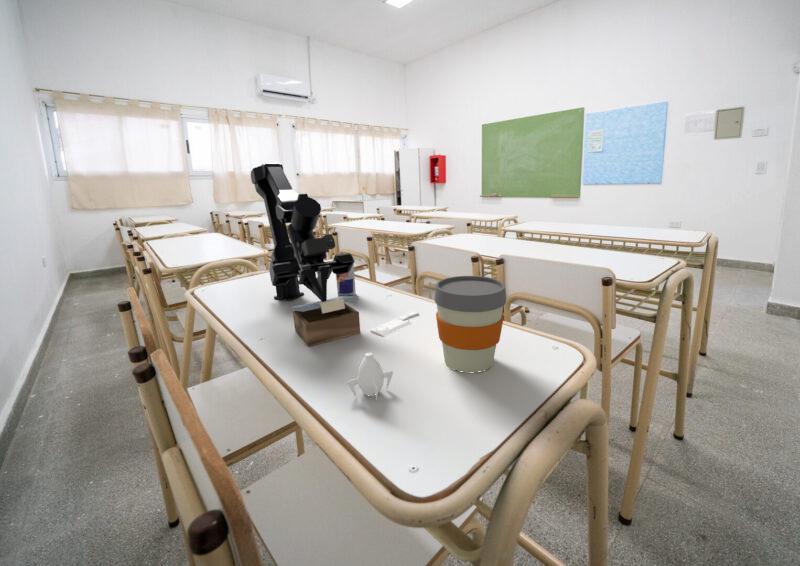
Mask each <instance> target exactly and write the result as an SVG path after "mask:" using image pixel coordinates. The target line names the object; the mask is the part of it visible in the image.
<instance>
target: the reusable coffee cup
mask: <svg viewBox="0 0 800 566" xmlns="http://www.w3.org/2000/svg"><path fill="white" fill-rule="evenodd" d="M434 290H435V292H434V302H435V304H436V309H437V312H436V313H435V319H436V326H437V332H438V333H437V334H438V339H439V340H440V342H441V344H442V352H443V357H444V364H445V365H446V367H448V366H449V367H450V368H449V367H448V368H449V369H451V368H452V369H451V370H453V369H455V370H458V371H463V372H478V371H484V370H486V369H489V368H490V367H491V366H492V367H493V365H494V359H495V354H496V348H497V344H499V342H500V340H501V335H502V329H503V323H504V319H505V316H504V314H503V310H504V306H505V304H506V303H507V296H506V295H507V294H506V285H505V283H504V282H502V281H501V280H499V279H496V278H492V277H488V276H481V275H459V276H458V275H457V276H451V277H446V278H443V279H440V280H439V281H437V282H436V284H435V289H434ZM492 367H491V368H492ZM491 368H490V369H491ZM490 369H489V370H490ZM455 370H454V371H455ZM458 371H457V372H458ZM484 372H485V371H484Z"/></svg>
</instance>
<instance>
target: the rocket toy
mask: <svg viewBox="0 0 800 566" xmlns="http://www.w3.org/2000/svg"><path fill="white" fill-rule="evenodd" d="M364 356H365V357H364V358H363V359H362V360H361V363H360V365H359V367H358V371H357V377H356V378H353V379H350V380H348V381H347V385H348V387H349V388H350V391H351V392H352V393H353V395H354V396H355V397H357V394H356V390H355V385H358V387H359V389H360V392H362V393H363V394H364V395H366V396H367V395H369V396H373V395H375V394H376V396H375V401H376V402H377V400H378V396H379V395H378V394H379V393H380V392H381V391H382V389H383V386H384V379H386V378H387V380H386V381H387V382H386V387H385V388H386V389H387V390H388V388H389V386H390V383H391V381H392V377H393V374H394V373H393V372H394V371H392V370H389V371H388V370H387V371H383V368H382V367H381V365H380V363H379V361H378V360H377V358H376V357H375V356H374V353H372V352H370V350H369V349H368V352H366V353H365V354H364ZM369 396H368V397H369ZM373 397H374V396H373Z"/></svg>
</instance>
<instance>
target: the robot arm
mask: <svg viewBox="0 0 800 566" xmlns="http://www.w3.org/2000/svg"><path fill="white" fill-rule="evenodd" d="M250 180H251V184H253V185H254V189H255V191H256V193H257V194H258V195H259V196H260V197H261V198H262V199H263V202H264V206H265V211H266V216H267V220H268V224H269V229H270V232H271V237H272V241H273V245H274V247H273V249H272V253H271V254H270V261H269V270H268V271H269V276H270V277H269V278H270V282H271V285H272V286H274V287H275V290H276V295H275V296H273V299H276V300H283V301H292V300H295V299H297V298H300V297H302V296H303V295H305V292H301V291H300V285H303V286H304V287H306V288H307V289H308V290H309V291H311V292H312V293H313V295H314V296H316V297H317V298H318V299H319V301H322V302H324V301H326V300H327V298H328V297H327V296H328V293H327V292H328V289H327V288H328V280H329V278H330V277H331V274H332V273H333V274H334V275H335V276H336V275H340V274H345V273H348V272H349V271H350V269H351V267H352V265H353V264H354V263H355V261H356V260H355V259H354V255H352V254H351V253H349V252H346V253H345V252H344V253H337V254H334V257H333V260H329V261H325V260H326V259H327V254H326V253H329V252H330V250H333V249H335V248H336V242H335V238H334V235H333V234H332V233H330V234H324V235H323V236H322V237H318V238H317V237H316V235H315V233H314V230H315V229H316V227H317V225H318V221H319V217H320V215H321V211H322V206H321V203H319V201H317V200H316V199H314V198H311V197H310V196H309V195H308V193H299V192H296V191H295V190H294V189H293V186H292V185H291V183H290V182H289V179H288V178H287V175H286V174H285V172H284V167H283V164H282V163H280V162H264V163H262V164H260V165H259V166H256V167H253V168H252V169H251V171H250ZM287 224H288V225H287Z"/></svg>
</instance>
